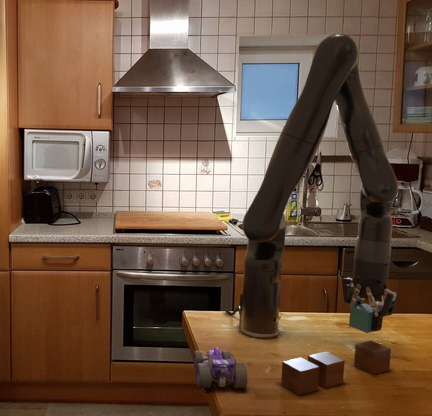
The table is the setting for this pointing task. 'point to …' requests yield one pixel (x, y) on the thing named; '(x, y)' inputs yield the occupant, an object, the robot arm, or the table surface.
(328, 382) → the walnut block
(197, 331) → the table surface
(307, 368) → the walnut block
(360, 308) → the teal block
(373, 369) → the walnut block
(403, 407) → the table surface
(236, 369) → the toy race car
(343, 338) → the table surface
